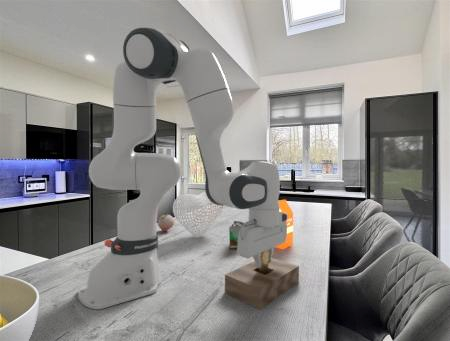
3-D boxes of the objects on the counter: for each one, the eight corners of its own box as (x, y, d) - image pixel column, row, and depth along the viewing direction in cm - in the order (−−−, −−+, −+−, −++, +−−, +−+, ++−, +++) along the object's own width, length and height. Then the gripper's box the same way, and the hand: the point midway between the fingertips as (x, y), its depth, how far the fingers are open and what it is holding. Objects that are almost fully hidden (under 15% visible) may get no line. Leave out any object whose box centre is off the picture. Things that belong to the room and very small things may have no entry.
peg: (264, 282, 70) (264, 247, 70) (255, 278, 72) (255, 244, 72) (270, 278, 73) (270, 244, 72) (261, 275, 75) (262, 242, 74)
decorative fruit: (171, 233, 129) (171, 214, 129) (156, 233, 129) (156, 214, 129) (175, 229, 138) (175, 211, 138) (161, 229, 138) (161, 211, 138)
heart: (187, 247, 107) (188, 196, 107) (165, 240, 117) (165, 193, 117) (229, 234, 128) (229, 191, 128) (207, 229, 138) (207, 189, 138)
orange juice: (293, 244, 112) (293, 200, 112) (283, 249, 106) (283, 202, 105) (277, 240, 118) (278, 198, 117) (267, 245, 111) (268, 200, 111)
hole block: (260, 309, 61) (260, 289, 61) (224, 292, 69) (224, 274, 69) (298, 282, 76) (298, 265, 75) (265, 270, 84) (265, 256, 84)
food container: (243, 251, 102) (243, 227, 102) (229, 250, 104) (229, 226, 103) (247, 242, 114) (247, 221, 114) (233, 241, 116) (234, 220, 116)
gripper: (250, 225, 62) (250, 279, 63) (290, 214, 77) (290, 258, 77) (231, 221, 67) (231, 272, 67) (273, 211, 82) (273, 253, 82)
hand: (263, 264), depth 72 cm, fingers closed on peg, 3 cm apart
